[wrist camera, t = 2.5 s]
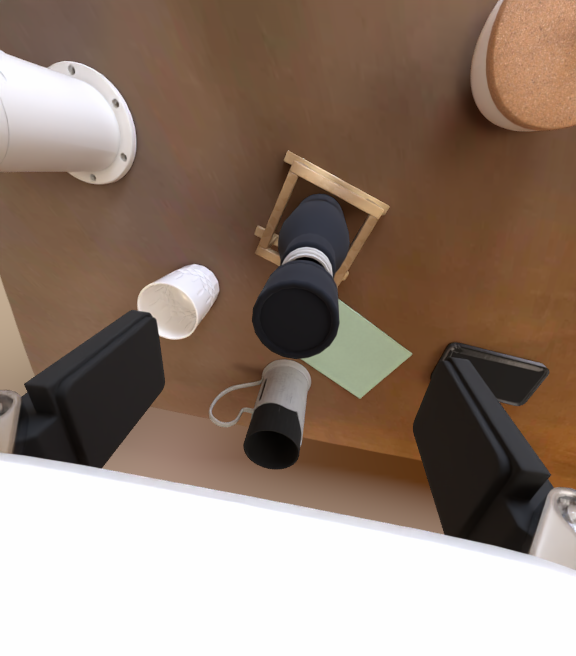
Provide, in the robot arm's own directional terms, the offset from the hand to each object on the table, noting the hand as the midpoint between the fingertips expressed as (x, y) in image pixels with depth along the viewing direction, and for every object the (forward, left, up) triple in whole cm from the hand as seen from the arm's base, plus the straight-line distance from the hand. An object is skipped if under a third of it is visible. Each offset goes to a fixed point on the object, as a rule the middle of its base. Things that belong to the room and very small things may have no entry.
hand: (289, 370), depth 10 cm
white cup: (-9, -19, -34) cm, 39 cm away
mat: (+14, -13, -33) cm, 38 cm away
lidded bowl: (+7, +23, -34) cm, 41 cm away
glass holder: (+9, -25, -34) cm, 43 cm away
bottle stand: (0, 0, -33) cm, 33 cm away
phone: (+35, -3, -33) cm, 48 cm away
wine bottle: (0, 0, -34) cm, 34 cm away
